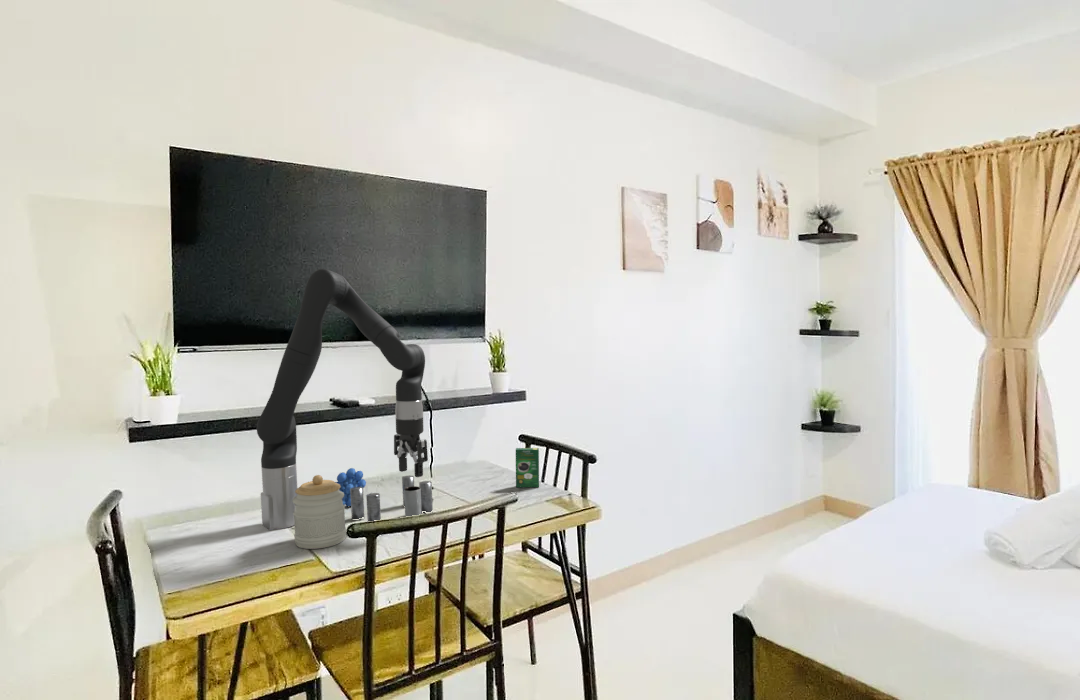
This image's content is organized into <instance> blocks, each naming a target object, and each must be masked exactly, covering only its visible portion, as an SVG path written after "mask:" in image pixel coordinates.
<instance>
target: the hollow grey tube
mask: <svg viewBox="0 0 1080 700" xmlns="http://www.w3.org/2000/svg"><path fill="white" fill-rule="evenodd" d="M404 501H405V507H404V517H405V516H412V515H419V514H422V511H421V489H420V487H419V486H417V485H416V486H415V485H414V486H412V487H407V488H405V489H404ZM422 515H423V514H422Z"/></svg>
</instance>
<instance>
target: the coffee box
mask: <svg viewBox="0 0 1080 700" xmlns="http://www.w3.org/2000/svg"><path fill="white" fill-rule="evenodd" d="M539 449H540V448H539V447H516V448H515V488H520V489H521V488H522V489H523V488H533V489H534V488H540V450H539Z"/></svg>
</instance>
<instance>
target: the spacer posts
mask: <svg viewBox="0 0 1080 700" xmlns="http://www.w3.org/2000/svg"><path fill="white" fill-rule="evenodd" d="M401 482H402V483H401V484H402V506H403V505H404V506H405V501H404V489H405V488H407V487H412V486H415V475H411V474H410V475H404V476H402V477H401ZM418 484H419V485H418V487H420V489H421V511H426V512H431V511H432V510H433V509H434V508H433V490H432V489H433V487H432V481H429V480H423V481H420V482H419V483H418ZM350 495H351V507H350V508H351V509H350V510H351V520H352V519H359V518H362V517H364V518H365V502H364V501H365V499H364V488H363V487H353V488H351V489H350ZM365 496H366V513H367V516H366V517H367V522H368V521H374V520H380V519H381V520H382V517H381V515H382V514H381V495H380V493H378V492H371V493H368V494H366V495H365ZM423 513H425V512H423Z"/></svg>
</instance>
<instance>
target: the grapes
mask: <svg viewBox="0 0 1080 700" xmlns="http://www.w3.org/2000/svg"><path fill="white" fill-rule="evenodd" d="M363 477H364V472H363V471H362V470H356V469H355V468H353V467H351V468H350V467H349V468H348V469H347V471H346V472H339V473H338V474H337V477H336V480H337V481H334V482H335V483H338V484H340V486H341V487H340V489H339V490H340V491H342V492H343V493H344V497H343V498H342V501H343V504H344V506H345V507H347V506H351V495H350V489H351V488H353V487H363V489H364V488H365V487H366V485H367V481H366V479H364V478H363Z"/></svg>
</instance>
